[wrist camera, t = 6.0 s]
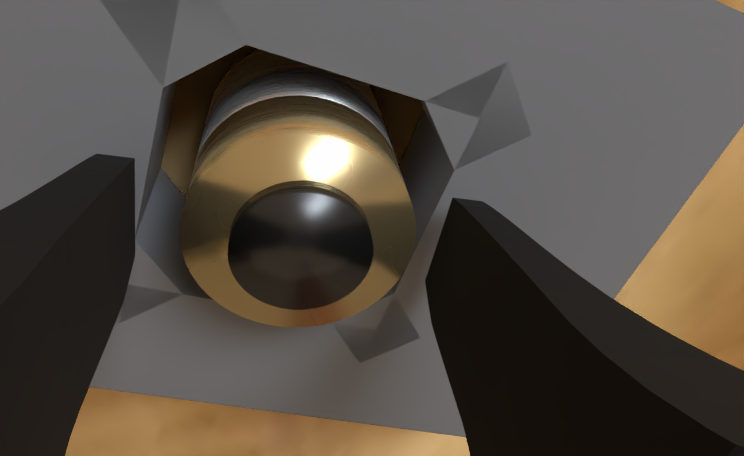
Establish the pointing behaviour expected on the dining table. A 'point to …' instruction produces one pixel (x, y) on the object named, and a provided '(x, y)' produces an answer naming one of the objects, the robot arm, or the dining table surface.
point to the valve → (295, 196)
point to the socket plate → (418, 167)
